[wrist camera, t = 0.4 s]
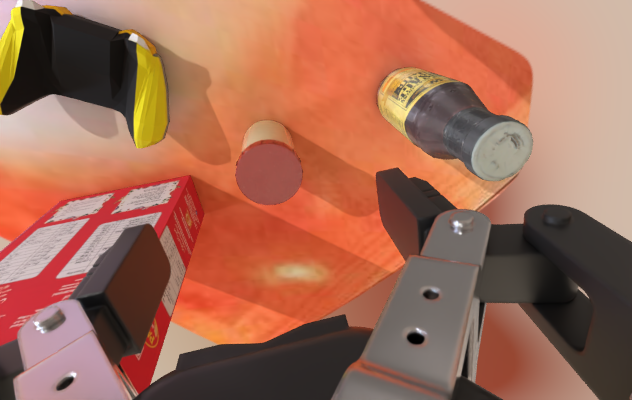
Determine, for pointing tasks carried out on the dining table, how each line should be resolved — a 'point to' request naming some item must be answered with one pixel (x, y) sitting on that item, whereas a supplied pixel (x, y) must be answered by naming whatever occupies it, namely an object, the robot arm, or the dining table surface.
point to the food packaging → (85, 248)
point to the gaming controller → (83, 67)
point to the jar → (267, 133)
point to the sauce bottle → (453, 123)
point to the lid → (269, 172)
